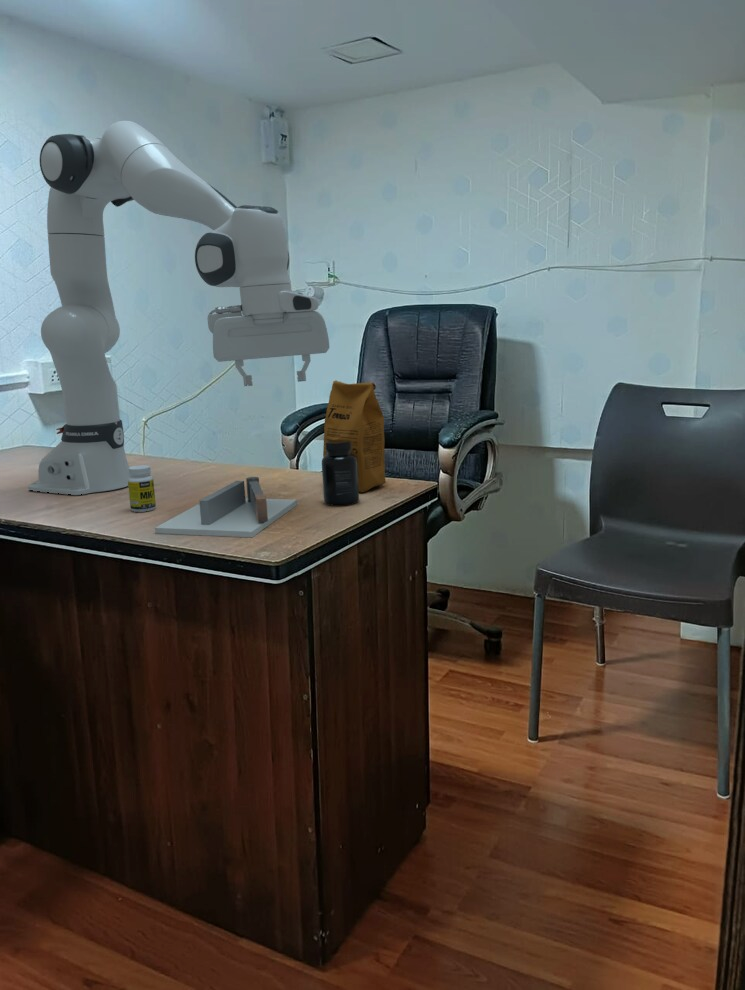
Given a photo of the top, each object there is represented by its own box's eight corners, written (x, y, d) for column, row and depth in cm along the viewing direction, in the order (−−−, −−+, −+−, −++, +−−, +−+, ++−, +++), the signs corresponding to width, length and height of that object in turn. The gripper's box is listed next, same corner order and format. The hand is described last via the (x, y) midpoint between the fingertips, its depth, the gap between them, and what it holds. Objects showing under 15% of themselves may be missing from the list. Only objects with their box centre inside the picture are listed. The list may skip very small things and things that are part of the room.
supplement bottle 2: (363, 498, 157) (361, 438, 154) (351, 507, 151) (349, 444, 148) (331, 497, 159) (328, 437, 157) (318, 505, 153) (314, 443, 150)
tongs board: (155, 533, 138) (152, 502, 137) (211, 502, 159) (209, 475, 158) (252, 537, 134) (249, 505, 132) (297, 504, 154) (295, 476, 153)
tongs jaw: (258, 522, 138) (256, 499, 137) (250, 501, 153) (248, 480, 152) (267, 521, 138) (266, 498, 137) (259, 500, 153) (257, 480, 152)
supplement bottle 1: (142, 513, 152) (138, 470, 150) (125, 511, 154) (120, 468, 152) (161, 507, 156) (157, 465, 154) (144, 505, 158) (140, 463, 156)
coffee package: (350, 479, 175) (345, 377, 170) (392, 486, 167) (389, 380, 162) (317, 487, 168) (311, 382, 163) (359, 495, 160) (355, 385, 155)
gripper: (204, 307, 134) (214, 390, 137) (326, 298, 136) (333, 380, 140) (207, 307, 140) (216, 386, 144) (323, 299, 143) (330, 377, 146)
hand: (275, 383), depth 142 cm, fingers open, 8 cm apart
